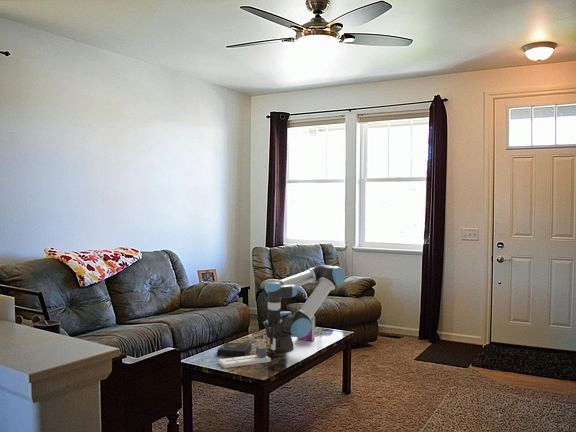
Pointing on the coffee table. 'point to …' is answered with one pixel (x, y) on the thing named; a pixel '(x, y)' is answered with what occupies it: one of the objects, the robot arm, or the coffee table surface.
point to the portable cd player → (234, 350)
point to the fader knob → (261, 351)
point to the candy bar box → (311, 334)
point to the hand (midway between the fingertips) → (273, 349)
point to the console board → (243, 361)
